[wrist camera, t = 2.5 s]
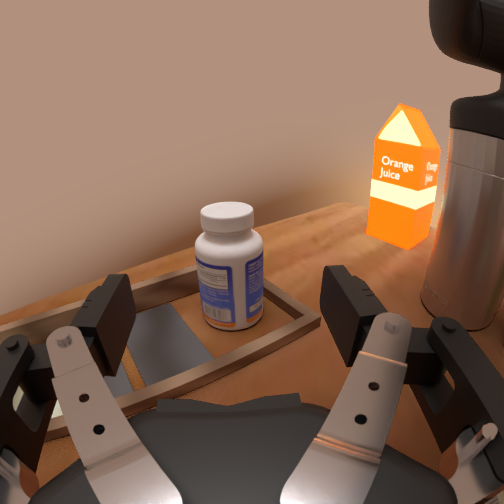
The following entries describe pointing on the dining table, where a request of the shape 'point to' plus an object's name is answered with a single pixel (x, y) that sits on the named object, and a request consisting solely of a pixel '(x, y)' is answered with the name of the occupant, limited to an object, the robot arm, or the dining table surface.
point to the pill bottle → (230, 266)
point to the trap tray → (165, 344)
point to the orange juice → (403, 179)
